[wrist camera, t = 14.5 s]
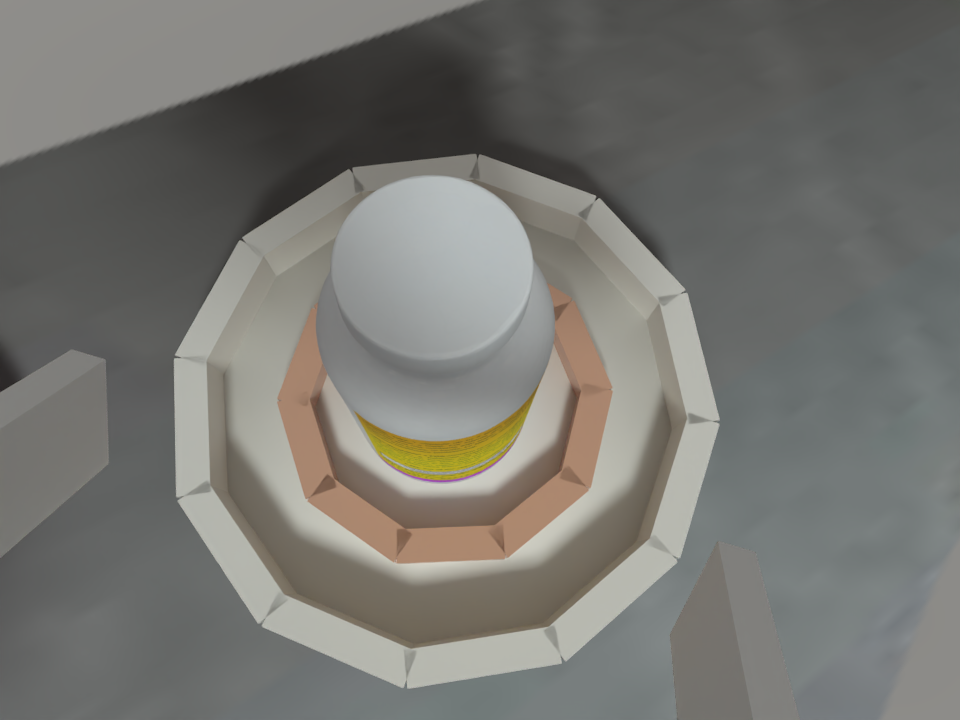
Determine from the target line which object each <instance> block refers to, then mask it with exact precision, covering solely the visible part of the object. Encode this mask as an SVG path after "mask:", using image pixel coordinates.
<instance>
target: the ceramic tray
mask: <svg viewBox="0 0 960 720" xmlns="http://www.w3.org/2000/svg"><path fill="white" fill-rule="evenodd" d="M421 175H442V176H451V177H456V178H461V179H463V180H466V181H470V182H472V183H475V184H477V185H479V186H481V187H483V188H485V189H487V190H488V191H490V192H491V193H493V194H495V195H496V196H497V197H499V198H500V199H501V200H502V201H503V202H504V203H505V204H507V205H508V207H509V208H510V209H511V210H512V211H513V212H514V213H515V215H516V216H517V217H518V219H519V220H520V222H521V223H522V225H523V227H524V229H525V231H526V233H527V236H528V238H529V241H530V244H531V249H532V254H533V259H534V260H535V262H536V263H537V265H538V266H539V268H540V270H541V272H542V273H543V275H544V278H545V280H546V282H547V285H548V287H549V290H550V294H551V298H552V301H553V306H554V315H555V335H554V343H553V348H552V352H551V356H550V359H549V362H548V365H547V368H546V370H545V373H544V375H543V377H542V380H541V382H540V384H539V387H538V389H537V392H536V394H535V397H534V399H533V402H532V404H531V407H530V409H529V412H528V414H527V417H526V419H525V422H524V424H523V427H522V429H521V432H520V434H519V436H518V438H517V440H516V441H515V443H514V445H513V446H512V448H511V449H510V450H509V452H508V453H507V454H506V455H505V456H504V458H503V459H501V460H500V461H499V462H498V463H497V464H496V465H495V466H493V467H492V468H491V469H489V470H487V471H486V472H484V473H482V474H481V475H479V476H476V477H474V478H472V479H469V480H465V481H462V482H457V483H449V484H433V483H426V482H421V481H417V480H414V479H412V478H409V477H407V476H404V475H402V474H401V473H399V472H397V471H395V470H394V469H392V468H391V467H390V466H388V465H387V464H386V463H385V462H384V461H383V460H382V459H381V458H380V457H379V456H378V455H377V454H376V453H375V451H374V450H373V449H372V447H371V446H370V444H369V443H368V441H367V440H366V438H365V436H364V435H363V433H362V431H361V430H360V428H359V426H358V424H357V423H356V421H355V419H354V417H353V416H352V414H351V412H350V411H349V409H348V407H347V406H346V404H345V402H344V401H343V399H342V397H341V396H340V394H339V392H338V391H337V390H336V388H335V386H334V385H333V383H332V381H331V380H330V378H329V376H328V374H327V372H326V370H325V367H324V365H323V363H322V359H321V356H320V352H319V348H318V343H317V336H316V314H317V307H318V301H319V297H320V294H321V290H322V287H323V284H324V282H325V280H326V278H327V276H328V274H329V272H330V264H331V254H332V250H333V246H334V242H335V239H336V237H337V234H338V232H339V229H340V228H341V226H342V224H343V222H344V221H345V219H346V218H347V217H348V215H349V214H350V213H351V211H352V210H353V209H354V208H355V207H356V206H357V205H358V204H359V203H360V202H361V201H362V200H363V199H365V198H366V197H367V196H368V195H370V194H371V193H373V192H374V191H376V190H378V189H379V188H381V187H383V186H385V185H387V184H389V183H392V182H395V181H398V180H401V179H405V178H409V177H414V176H421ZM595 198H596V196H595V195H592V194H590V193H587V192H584V191H581V190H578V189H576V188H573V187H570V186H567V185H564V184H562V183H559V182H556V181H553V180H551V179H548V178H545V177H542V176H539V175H537V174H534V173H531V172H528V171H525V170H523V169H520V168H517V167H514V166H511V165H509V164H506V163H503V162H500V161H498V160H495V159H492V158H489V157H486V156H484V155H481V154H480V155H479V157H478V159H477V156H476V154H469V155H460V156H451V157H442V158H433V159H424V160H415V161H406V162H397V163H388V164H379V165H370V166H361V167H353V173H352V172H351V171H350V169H348V170H346V171H345V172H343V173H342V174H340V175H338V176H337V177H335V178H334V179H332V180H331V181H329V182H328V183H326V184H324V185H323V186H321V187H320V188H318V189H317V190H315V191H314V192H312V193H310V194H309V195H307V196H306V197H304V198H303V199H301V200H300V201H298V202H296V203H295V204H293V205H292V206H290V207H289V208H287V209H286V210H284V211H282V212H281V213H279V214H278V215H276V216H275V217H273V218H272V219H270V220H268V221H267V222H265V223H264V224H262V225H261V226H259V227H258V228H256V229H254V230H253V231H251V232H250V233H248V234H247V235H245V236H244V237H242V238H243V240H244V241H245V242H243V241H240V240H239V242H238V244H237V245H236V247H235V249H234V251H233V252H232V254H231V256H230V258H229V260H228V261H227V263H226V265H225V267H224V268H223V270H222V272H221V274H220V276H219V277H218V279H217V281H216V283H215V284H214V286H213V288H212V290H211V292H210V293H209V295H208V297H207V299H206V301H205V302H204V304H203V306H202V308H201V309H200V311H199V313H198V315H197V317H196V318H195V320H194V322H193V324H192V325H191V327H190V329H189V331H188V333H187V334H186V336H185V338H184V340H183V341H182V343H181V345H180V347H179V349H178V350H177V352H176V354H175V355H176V356H177V357H178V358H176V359H174V395H175V454H176V497H178V498H181V499H180V500H178V503H179V504H180V506H181V507H182V509H183V510H184V512H185V513H186V515H187V516H188V518H189V519H190V521H191V522H192V524H193V525H194V527H195V528H196V530H197V532H198V533H199V535H200V536H201V538H202V539H203V541H204V542H205V544H206V545H207V547H208V548H209V550H210V551H211V553H212V554H213V556H214V557H215V559H216V560H217V562H218V563H219V565H220V566H221V568H222V570H223V571H224V573H225V574H226V576H227V577H228V579H229V580H230V582H231V583H232V585H233V586H234V588H235V589H236V591H237V592H238V594H239V595H240V597H241V598H242V600H243V601H244V603H245V604H246V606H247V608H248V609H249V611H250V612H251V614H252V615H253V617H254V618H255V620H256V621H257V623H258V624H259V623H263V624H262V627H264V628H266V629H268V630H271V631H273V632H275V633H277V634H280V635H282V636H284V637H287V638H289V639H291V640H294V641H296V642H298V643H300V644H303V645H305V646H307V647H310V648H312V649H314V650H317V651H319V652H321V653H323V654H326V655H328V656H330V657H333V658H335V659H337V660H339V661H342V662H344V663H346V664H349V665H351V666H353V667H356V668H358V669H360V670H362V671H365V672H367V673H369V674H372V675H374V676H376V677H379V678H381V679H383V680H385V681H388V682H390V683H392V684H395V685H397V686H399V687H402V688H403V687H404V686H405V684H406V682H407V687H408V689H409V688H415V687H421V686H428V685H434V684H440V683H446V682H452V681H458V680H464V679H470V678H476V677H482V676H488V675H495V674H501V673H507V672H513V671H519V670H525V669H531V668H537V667H543V666H549V665H556V664H562V662H561V658H562V659H563V660H565V661H567V660H568V659H569V658H570V657H571V656H573V655H574V654H575V653H576V652H577V651H578V650H579V649H580V648H582V647H583V646H584V645H585V644H586V643H587V642H588V641H589V640H590V639H592V638H593V637H594V636H595V635H596V634H597V633H598V632H599V631H601V630H602V629H603V628H604V627H605V626H606V625H607V624H608V623H610V622H611V621H612V620H613V619H614V618H615V617H616V616H617V615H619V614H620V613H621V612H622V611H623V610H624V609H625V608H626V607H628V606H629V605H630V604H631V603H632V602H633V601H634V600H635V599H637V598H638V597H639V596H640V595H641V594H642V593H643V592H644V591H646V590H647V589H648V588H649V587H650V586H651V585H652V584H653V583H654V582H656V581H657V580H658V579H659V578H660V577H661V576H662V575H663V574H665V573H666V572H667V571H668V570H669V569H670V568H671V567H672V566H674V565H675V564H676V563H677V562H678V561H677V560H676V558H680V557H681V553H682V550H683V546H684V543H685V540H686V536H687V533H688V529H689V526H690V523H691V519H692V516H693V513H694V509H695V506H696V502H697V499H698V496H699V492H700V489H701V485H702V482H703V479H704V475H705V472H706V469H707V465H708V462H709V458H710V455H711V452H712V448H713V445H714V441H715V438H716V435H717V431H718V428H719V424H718V423H716V422H717V421H719V420H720V419H719V415H718V411H717V407H716V403H715V400H714V396H713V392H712V388H711V384H710V380H709V376H708V372H707V368H706V364H705V360H704V356H703V352H702V348H701V345H700V341H699V337H698V333H697V329H696V325H695V321H694V317H693V313H692V309H691V305H690V301H689V297H688V293H683V292H684V291H685V289H684V288H683V286H682V285H681V284H680V283H679V282H678V281H677V280H676V279H675V278H674V277H673V276H672V275H671V274H670V273H669V272H668V270H667V269H666V268H665V267H664V266H663V265H662V264H661V263H660V262H659V261H658V260H657V259H656V258H655V257H654V256H653V254H652V253H651V252H650V251H649V250H648V249H647V248H646V247H645V246H644V245H643V244H642V243H641V242H640V241H639V240H638V238H637V237H636V236H635V235H634V234H633V233H632V232H631V231H630V230H629V229H628V228H627V227H626V226H625V225H624V224H623V223H622V221H621V220H620V219H619V218H618V217H617V216H616V215H615V214H614V213H613V212H612V211H611V210H610V209H609V208H608V207H607V205H606V204H605V203H604V202H603V201H602V200H601V199H600V198H599V199H597V200H596V201H595Z"/></svg>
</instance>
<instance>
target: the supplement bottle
mask: <svg viewBox="0 0 960 720" xmlns="http://www.w3.org/2000/svg"><path fill="white" fill-rule="evenodd" d="M554 335H555V315H554V306H553V301H552V298H551V294H550V290H549V287H548V285H547V282H546V280H545V278H544V275H543V273H542V272H541V270H540V268H539V266H538V265H537V263H536V262H535V260H534V259H533V254H532V249H531V244H530V241H529V238H528V236H527V233H526V231H525V229H524V227H523V225H522V223H521V222H520V220H519V219H518V217H517V216H516V215H515V213H514V212H513V211H512V210H511V209H510V208H509V207H508V205H507V204H505V203H504V202H503V201H502V200H501V199H500V198H499V197H497V196H496V195H495V194H493V193H491V192H490V191H488V190H487V189H485V188H483V187H481V186H479V185H477V184H475V183H472V182H470V181H466V180H463V179H461V178H456V177H451V176H442V175H421V176H414V177H409V178H405V179H401V180H398V181H395V182H392V183H389V184H387V185H385V186H383V187H381V188H379V189H378V190H376V191H374V192H373V193H371V194H370V195H368V196H367V197H366V198H365V199H363V200H362V201H361V202H360V203H359V204H358V205H357V206H356V207H355V208H354V209H353V210H352V211H351V213H350V214H349V215H348V217H347V218H346V219H345V221H344V222H343V224H342V226H341V228H340V229H339V232H338V234H337V237H336V239H335V242H334V246H333V250H332V254H331V264H330V272H329V274H328V276H327V278H326V280H325V282H324V284H323V287H322V290H321V294H320V297H319V301H318V307H317V314H316V336H317V343H318V348H319V352H320V356H321V359H322V363H323V365H324V367H325V370H326V372H327V374H328V376H329V378H330V380H331V381H332V383H333V385H334V386H335V388H336V390H337V391H338V392H339V394H340V396H341V397H342V399H343V401H344V402H345V404H346V406H347V407H348V409H349V411H350V412H351V414H352V416H353V417H354V419H355V421H356V423H357V424H358V426H359V428H360V430H361V431H362V433H363V435H364V436H365V438H366V440H367V441H368V443H369V444H370V446H371V447H372V449H373V450H374V451H375V453H376V454H377V455H378V456H379V457H380V458H381V459H382V460H383V461H384V462H385V463H386V464H387V465H388V466H390V467H391V468H392V469H394V470H395V471H397V472H399V473H401V474H402V475H404V476H407V477H409V478H412V479H414V480H417V481H421V482H426V483H433V484H449V483H457V482H462V481H465V480H469V479H472V478H474V477H476V476H479V475H481V474H482V473H484V472H486V471H487V470H489V469H491V468H492V467H493V466H495V465H496V464H497V463H498V462H499V461H500V460H501V459H503V458H504V456H505V455H506V454H507V453H508V452H509V450H510V449H511V448H512V446H513V445H514V443H515V441H516V440H517V438H518V436H519V434H520V432H521V429H522V427H523V424H524V422H525V419H526V417H527V414H528V412H529V409H530V407H531V404H532V402H533V399H534V397H535V394H536V392H537V389H538V387H539V384H540V382H541V380H542V377H543V375H544V373H545V370H546V368H547V365H548V362H549V359H550V356H551V352H552V348H553V343H554Z"/></svg>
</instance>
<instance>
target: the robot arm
mask: <svg viewBox="0 0 960 720" xmlns="http://www.w3.org/2000/svg"><path fill="white" fill-rule="evenodd" d="M108 464H109V452H108V421H107V389H106V360H105V359H102V358H99V357H95V356H92V355H89V354H85V353H82V352H78V351H75V350H70V351H68V352H67V353H65V354H63V355H62V356H60V357H58V358H57V359H55V360H53V361H52V362H50V363H48V364H47V365H45V366H43V367H42V368H40V369H38V370H37V371H35V372H33V373H32V374H30V375H28V376H27V377H25V378H23V379H22V380H20V381H18V382H17V383H15V384H13V385H12V386H10V387H8V388H7V389H5V390H3V391H2V392H0V558H1V557H2V556H3V555H4V554H5V553H7V552H8V551H9V550H10V549H11V548H12V547H13V546H15V545H16V544H17V543H18V542H19V541H20V540H21V539H23V538H24V537H25V536H26V535H27V534H28V533H30V532H31V531H32V530H33V529H34V528H35V527H36V526H38V525H39V524H40V523H41V522H42V521H43V520H44V519H46V518H47V517H48V516H49V515H50V514H51V513H53V512H54V511H55V510H56V509H57V508H58V507H59V506H61V505H62V504H63V503H64V502H65V501H66V500H67V499H69V498H70V497H71V496H72V495H73V494H74V493H76V492H77V491H78V490H79V489H80V488H81V487H82V486H84V485H85V484H86V483H87V482H88V481H89V480H90V479H92V478H93V477H94V476H95V475H96V474H97V473H99V472H100V471H101V470H102V469H103V468H104V467H105V466H107V465H108ZM670 641H671V653H672V664H673V675H674V686H675V698H676V709H677V720H800V718H799V715H798V711H797V707H796V703H795V700H794V696H793V692H792V688H791V684H790V681H789V677H788V673H787V669H786V665H785V662H784V658H783V654H782V650H781V647H780V643H779V639H778V635H777V631H776V628H775V624H774V620H773V616H772V612H771V609H770V605H769V601H768V597H767V594H766V590H765V586H764V582H763V578H762V575H761V571H760V567H759V563H758V559H757V556H756V552H754V551H750V550H747V549H744V548H740V547H737V546H733V545H730V544H727V543H723V542H720V541H718V542H717V544H716V546H715V548H714V549H713V551H712V553H711V555H710V557H709V559H708V561H707V563H706V565H705V567H704V569H703V571H702V573H701V575H700V577H699V579H698V581H697V583H696V585H695V587H694V588H693V590H692V592H691V594H690V596H689V598H688V600H687V602H686V604H685V606H684V608H683V610H682V612H681V614H680V616H679V618H678V620H677V622H676V624H675V626H674V627H673V629H672V631H671V633H670Z"/></svg>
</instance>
